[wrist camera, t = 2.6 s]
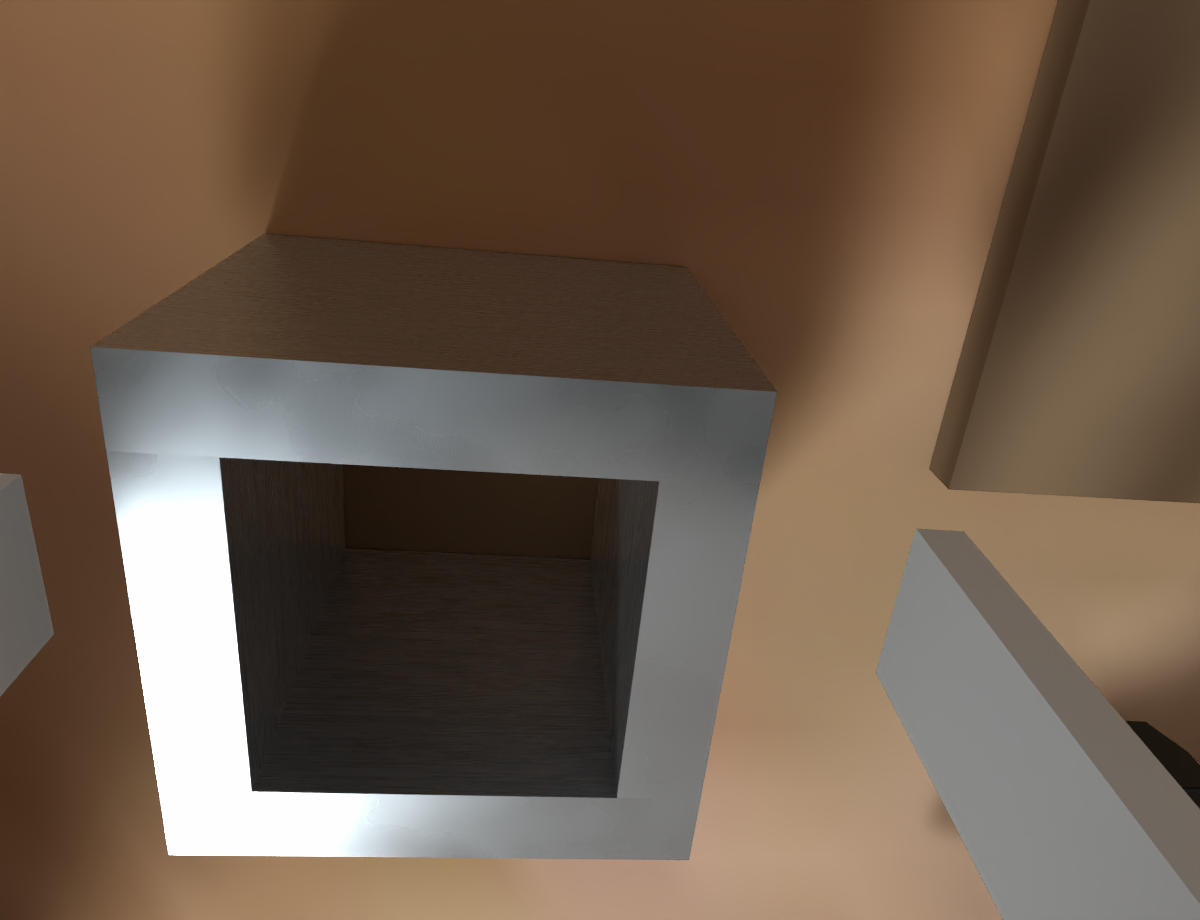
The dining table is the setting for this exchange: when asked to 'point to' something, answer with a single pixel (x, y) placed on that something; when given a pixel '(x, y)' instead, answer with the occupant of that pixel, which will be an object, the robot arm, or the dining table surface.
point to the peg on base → (1092, 274)
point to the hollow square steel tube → (429, 579)
